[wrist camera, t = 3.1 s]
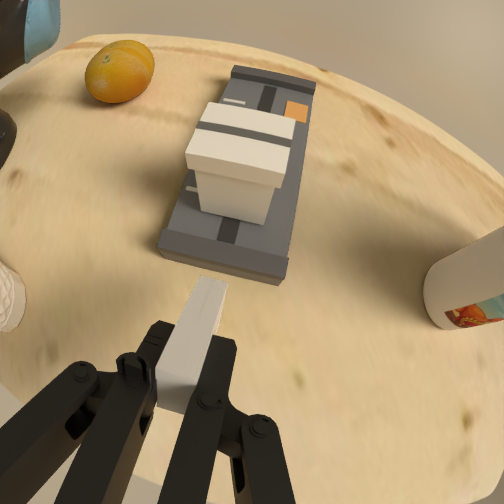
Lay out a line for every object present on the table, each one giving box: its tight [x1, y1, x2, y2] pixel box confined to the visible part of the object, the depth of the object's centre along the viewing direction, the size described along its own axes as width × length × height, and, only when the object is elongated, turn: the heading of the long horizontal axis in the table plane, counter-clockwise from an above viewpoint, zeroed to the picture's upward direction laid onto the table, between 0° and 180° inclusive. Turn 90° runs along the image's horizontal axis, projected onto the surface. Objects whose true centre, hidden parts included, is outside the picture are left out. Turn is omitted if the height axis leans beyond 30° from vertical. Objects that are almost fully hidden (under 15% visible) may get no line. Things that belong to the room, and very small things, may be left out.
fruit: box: [85, 40, 155, 103], centre depth 26 cm, size 9×8×8 cm
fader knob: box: [185, 102, 296, 225], centre depth 20 cm, size 5×6×8 cm
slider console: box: [157, 65, 316, 286], centre depth 26 cm, size 24×10×3 cm, turn 167°
